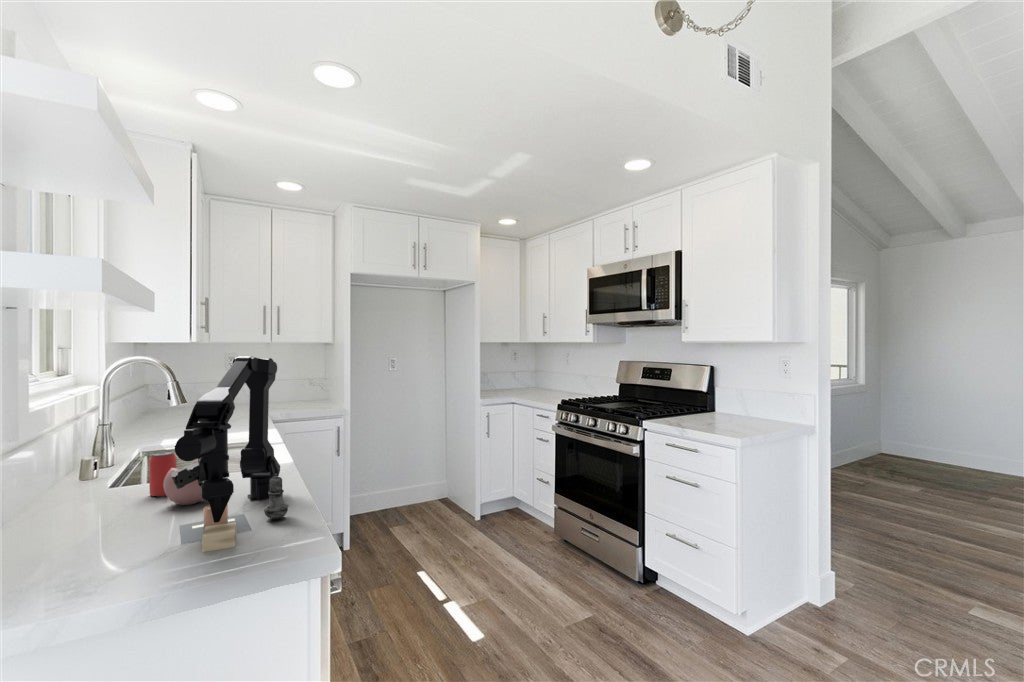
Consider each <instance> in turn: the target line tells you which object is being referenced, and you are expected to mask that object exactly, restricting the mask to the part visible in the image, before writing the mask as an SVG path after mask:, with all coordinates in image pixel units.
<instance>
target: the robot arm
mask: <svg viewBox="0 0 1024 682" xmlns="http://www.w3.org/2000/svg"><path fill="white" fill-rule="evenodd" d="M277 372H278V364H277V362H276V361H274V359H273V358H271V357H266V358H265V357H259V358H258V357H255V356H249V355H248V356H247V355H246V356H241V355H240V356H237V357H234V358H233V360H232V364H231V366H230V367H229V369H228V370H227V371H226V373H225V374H224V376H222V378H221V380H220V381H219V383H218V384H217V386H216V387H215V388H214V389H212V390H211V391H208V392H206V393H204V394H203V395H202V396H200V397H199V399H198V400H197V401H196V403H195V404H194V406H193V408H192V411H191V414H190V415H189V419H188V421H187V423H186V426H185V430H183V436H181V437H180V438H178V439H177V441H176V443H175V445H174V454H175V456H177V457H178V459H180V460H181V461H184V462H191V461H195V460H197V461H198V462H196V463H194V462H193V463H194V464H192V463H191V464H189V465H187V466H184V467H182V468H178V469H179V470H177V471H175V472H173V473H171V477H172V479H173V481H174V484H175V486H176V488H177V489H180V488H182V487H184V486H185V485H187V484H189V483H191V482H193V481H196V480H197V481H198V485H199V486H201V496H202V499H203V500H204V501H206V502H208V505H210V508H211V512H212V516H213V521H214V523H216V522H219V521H220V519H221V517H222V515H223V512H224V510H225V508H226V506H227V504H229V501H230V499H231V497H232V496H233V494H234V483H233V481H232V480H231V479H229V477H230V471H229V460H230V455H229V450H228V449H229V445H228V444H229V443H228V441H229V440H228V439H229V435H228V433H229V432H228V430H229V429H231V428H232V424H230V423H229V421H230V420H231V418H232V416H233V415H234V411H235V409H236V406H235V399H236V397H237V396H238V395H239V392H240V391H241V390H242V388H243V386H244V385H245V384H246V386H247V388H248V389H249V408H248V409H249V410H248V411H249V414H248V417H249V418H248V441H247V443H246V446H244V448H241V450H240V459H239V467H240V474H241V476H242V479H247V478H248V479H249V488H250V489H249V490H250V491H249V494H247V498H248V499H249V501H250V502H257V501H262V500H267V499H269V500H270V494H268V492H269V491H270V479H271V478H273V477H274V476H275V473H276V474H277V476H278V477H280V473H281V465H280V463H279V461H278V459H276V457H275V450H274V447H273V446H272V444H271V443H270V441H269V405H270V404H269V403H270V402H269V400H270V399H269V396H270V393H269V391H270V389H271V387H272V385H273V384H274V382H275V381H276V375H277ZM203 500H202V501H203Z"/></svg>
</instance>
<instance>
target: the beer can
mask: <svg viewBox="0 0 1024 682" xmlns="http://www.w3.org/2000/svg"><path fill="white" fill-rule="evenodd" d="M176 456H177V455H176V453H175V451H174V450H163V451H156V452H153V453H151V456H150V458H149V462H148V469H149V470H148V471H149V472H148V473H149V475H148V476H149V481H148V482H149V495H150V496H151V497H154V496H161V497H167V496H166V494H165V491H164V479H165V477H166V475H167V473H168V472H169V470H170V469H171V468H177V469H178V467H177V457H176Z"/></svg>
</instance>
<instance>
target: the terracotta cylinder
mask: <svg viewBox="0 0 1024 682" xmlns="http://www.w3.org/2000/svg"><path fill="white" fill-rule="evenodd" d="M228 504H229V503H228ZM228 504H227V506H226V508H225V510H224V512H223V515H222V517H221V519H220V521H219V522H216V523H214V521H213V516H212V512H211V508H210V505H209V504H208V505H206V506H204V507H203V508H202V509H203V510H202V511H203V515H202V516H203V521H204V529H205V527H207V526H213V525H220V524H227V523H228V513H229V510H228V509H229V508H228V507H229V506H228Z"/></svg>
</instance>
